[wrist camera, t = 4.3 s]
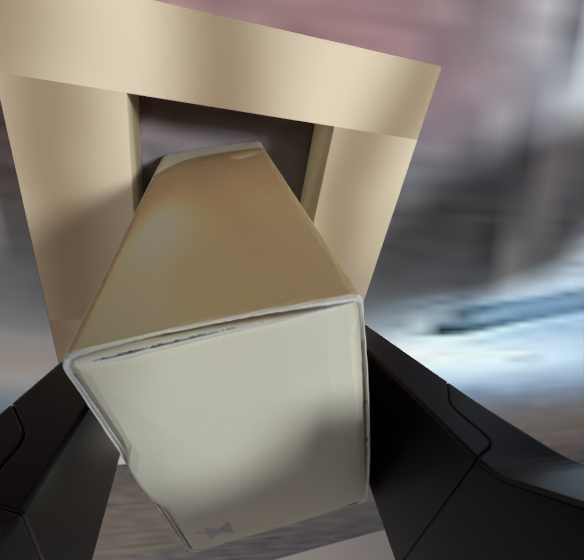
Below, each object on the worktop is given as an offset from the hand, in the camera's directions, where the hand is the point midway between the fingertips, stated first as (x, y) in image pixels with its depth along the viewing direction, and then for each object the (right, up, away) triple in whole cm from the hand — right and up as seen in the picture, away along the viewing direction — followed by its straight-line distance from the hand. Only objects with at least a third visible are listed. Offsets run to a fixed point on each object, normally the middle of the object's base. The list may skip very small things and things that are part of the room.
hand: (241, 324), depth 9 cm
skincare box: (-2, +4, +7) cm, 9 cm away
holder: (-2, +4, +7) cm, 8 cm away
